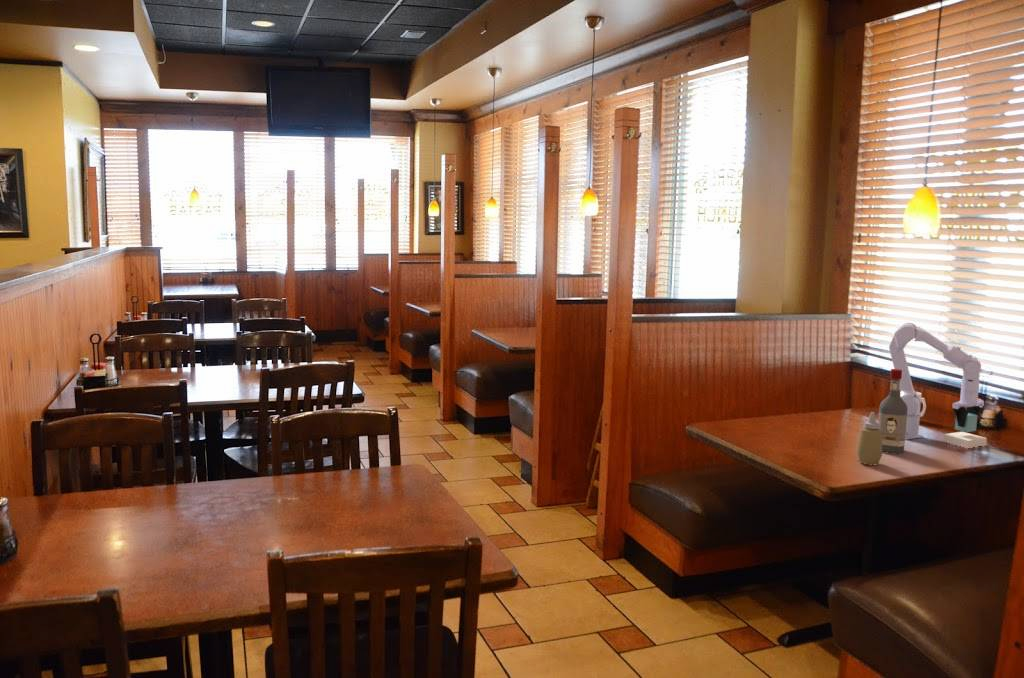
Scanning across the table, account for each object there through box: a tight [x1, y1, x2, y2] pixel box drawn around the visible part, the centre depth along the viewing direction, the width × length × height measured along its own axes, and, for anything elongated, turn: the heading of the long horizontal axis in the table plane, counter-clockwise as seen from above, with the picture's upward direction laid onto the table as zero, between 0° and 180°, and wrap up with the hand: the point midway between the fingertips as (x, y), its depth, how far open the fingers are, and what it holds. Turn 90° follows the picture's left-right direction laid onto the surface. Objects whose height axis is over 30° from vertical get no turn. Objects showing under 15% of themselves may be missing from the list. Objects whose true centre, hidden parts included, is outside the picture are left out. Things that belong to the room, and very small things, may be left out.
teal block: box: [954, 413, 978, 433], centre depth 302 cm, size 5×5×6 cm
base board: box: [943, 431, 988, 450], centre depth 303 cm, size 10×10×3 cm
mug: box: [915, 391, 927, 418], centre depth 335 cm, size 10×7×12 cm, turn 25°
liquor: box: [877, 368, 907, 455], centre depth 291 cm, size 9×9×30 cm
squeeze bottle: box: [856, 411, 883, 466], centre depth 276 cm, size 8×8×18 cm
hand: (966, 425), depth 302 cm, fingers closed on teal block, 5 cm apart
